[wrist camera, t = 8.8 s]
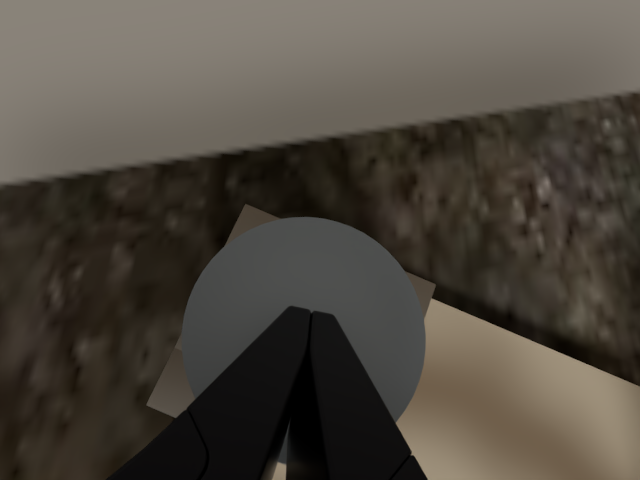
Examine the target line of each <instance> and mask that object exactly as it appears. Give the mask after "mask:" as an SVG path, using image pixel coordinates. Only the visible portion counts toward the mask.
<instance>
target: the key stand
mask: <svg viewBox="0 0 640 480" xmlns="http://www.w3.org/2000/svg"><path fill="white" fill-rule="evenodd" d="M279 219H280V218H278V217H275V216H273V215H271V214H268V213H266V212H263V211H261V210H259V209H256V208H254V207H252V206H249V205H247V204H245V206H244V208H243V210H242V212H241V214H240V216H239V218H238V220H237V222H236V224H235V226H234V228H233V230H232V232H231V234H230V236H229V238H228V240H227V242H226V244H225V246H226V245H227V244H228V243H230V242H231V241H232V240H234V239H235V238H236V237H238V236H240V235H241V234H243V233H245V232H246V231H248V230H250V229H252V228H255V227H257V226H259V225H262V224H265V223H268V222H271V221H275V220H279ZM225 246H224V247H225ZM405 273H406V274H407V276H408V278H409V280H410V281H411V283H412V285H413V287H414V289H415V292H416V294H417V297H418V299H419V302H420V305H421V309H422V313H423V317H424V325H425V333H426V350H425V358H424V365H423V369H422V373H421V377H420V381H419V383H418V386H417V388H416V391H415V393H414V396H413V397H412V399H411V401H410V403H409V405H408V406H407V408H406V410H405V411H404V413H403V414H402V415H401V417H400V418H399V419H398V420H397V422H396V424H397V426H398V428H399V430H400V431H401V433H402V435H403V437H404V438H405V440H406V442H407V444H408V446H409V447H410V449H411V451H412V455H414V456H415V458H416V459H417V461H418V463H419V465H420V466H421V468H422V470H423V472H424V473H425V475H426V477H427V478H428V480H640V386H637V385H635V384H632V383H630V382H628V381H625V380H623V379H621V378H618V377H616V376H614V375H611V374H609V373H607V372H604V371H602V370H599V369H597V368H595V367H592V366H590V365H588V364H585V363H583V362H581V361H578V360H576V359H573V358H571V357H569V356H566V355H564V354H562V353H559V352H557V351H555V350H552V349H550V348H547V347H545V346H543V345H540V344H538V343H536V342H533V341H531V340H529V339H526V338H524V337H522V336H519V335H517V334H514V333H512V332H510V331H507V330H505V329H503V328H500V327H498V326H496V325H493V324H491V323H488V322H486V321H484V320H481V319H479V318H477V317H474V316H472V315H470V314H467V313H465V312H463V311H460V310H458V309H455V308H453V307H451V306H448V305H446V304H444V303H441V302H439V301H437V300H434V299H432V295H433V292H434V289H435V286H436V284H434V283H431V282H429V281H427V280H424V279H422V278H420V277H417V276H415V275H412V274H410V273H408V272H405ZM194 400H195V397H194V394H193V392H192V390H191V387H190V385H189V382H188V379H187V375H186V372H185V368H184V363H183V355H182V334H181V336H180V338H179V340H178V342H177V344H176V346H175V348H174V350H173V352H172V354H171V356H170V358H169V360H168V362H167V364H166V366H165V368H164V370H163V372H162V374H161V376H160V378H159V380H158V382H157V384H156V386H155V388H154V390H153V392H152V394H151V396H150V398H149V401H148V403H147V406H149V407H152V408H154V409H156V410H158V411H161V412H163V413H165V414H168V415H170V416H172V417H175V418H177V417H178V416H179V415H180V414H181V413H182V412H183V411H184V410H186V409H187V407H188V406H189V405H190V404H191V403H192V402H193V401H194ZM272 480H286V464H284V463H279V462H278V463H277V466H276V469H275V473H274V476H273V479H272Z"/></svg>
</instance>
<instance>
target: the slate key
mask: <svg viewBox="0 0 640 480" xmlns="http://www.w3.org/2000/svg"><path fill="white" fill-rule="evenodd" d="M288 306H297V307H301V308H306V309H309V310H310V311H311V313H312V312H313V311H321V312H325V313H330V314H333V315H334V316H335V317H336V319H337V320H338V322H339V324H340V326H341V327H342V329H343V331H344V333H345V334H346V336H347V338H348V340H349V341H350V343H351V345H352V347H353V349H354V350H355V352H356V354H357V356H358V357H359V359H360V361H361V363H362V364H363V366H364V368H365V370H366V371H367V373H368V375H369V377H370V379H371V380H372V382H373V384H374V386H375V387H376V389H377V391H378V393H379V394H380V396H381V398H382V400H383V401H384V403H385V405H386V407H387V409H388V410H389V412H390V414H391V416H392V417H393V419H394V421H395V423H396V422H397V420H398V419H399V418H400V417H401V415H402V414H403V413H404V411H405V410H406V408H407V406H408V405H409V403H410V401H411V399H412V397H413V396H414V393H415V391H416V388H417V386H418V383H419V381H420V377H421V373H422V369H423V365H424V358H425V350H426V333H425V325H424V317H423V313H422V309H421V305H420V302H419V299H418V297H417V294H416V292H415V289H414V287H413V285H412V283H411V281H410V280H409V278H408V276H407V274H406V273H405V271H404V270H403V269H402V267H401V266H400V264H399V263H398V262H397V261H396V260H395V258H394V257H393V256H392V255H391V254H390V253H389V252H388V251H387V250H386V249H385V248H384V247H382V246H381V245H380V244H379V243H378V242H377V241H375V240H374V239H372V238H371V237H369V236H368V235H366V234H365V233H363V232H361V231H359V230H357V229H355V228H353V227H351V226H348V225H345V224H342V223H339V222H337V221H332V220H327V219H323V218H313V217H292V218H286V219H279V220H275V221H271V222H268V223H265V224H262V225H259V226H257V227H255V228H252V229H250V230H248V231H246V232H245V233H243V234H241V235H240V236H238V237H236V238H235V239H234V240H232V241H231V242H230V243H228V244H227V245H226V246H225V247H223V248H222V249H221V250H220V251H219V252H218V253H217V254H216V255H215V256H214V257H213V258H212V260H211V261H210V262H209V264H208V265H207V266H206V267H205V269H204V270H203V271H202V273H201V275H200V277H199V278H198V280H197V282H196V283H195V285H194V288H193V290H192V292H191V295H190V297H189V300H188V303H187V307H186V310H185V314H184V320H183V327H182V355H183V363H184V368H185V372H186V375H187V379H188V382H189V385H190V387H191V390H192V392H193V394H194V397H195V399H196V398H197V397H198V396H199V395H200V394H201V393H202V392H203V391H204V390H205V389H206V388H207V387H208V386H209V385H210V384H211V383H212V382H213V381H214V380H215V379H216V378H217V377H218V376H219V375H220V374H221V373H222V372H223V371H224V370H225V369H226V368H227V367H228V366H229V365H230V364H231V363H232V362H233V361H234V360H235V359H236V358H237V357H238V356H239V355H240V354H241V353H242V352H243V351H244V350H245V349H246V348H247V347H248V346H249V345H250V344H251V343H252V342H253V341H254V340H255V339H256V338H257V337H258V336H259V335H260V334H261V333H262V332H263V331H264V330H265V329H266V328H267V327H268V326H269V325H270V324H271V323H272V322H273V321H274V320H275V319H276V318H277V317H278V316H279V315H280V314H281V313H282V312H283V311H284V310H285V309H286V308H287V307H288ZM289 422H290V421H289ZM288 429H289V425H288ZM288 429H287V433H286V436H285V440H284V444H283V447H282V450H281V453H280V457H279V460H278V462H279V463H284V464H286V460H287V440H288Z"/></svg>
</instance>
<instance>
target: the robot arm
mask: <svg viewBox="0 0 640 480" xmlns="http://www.w3.org/2000/svg"><path fill="white" fill-rule="evenodd" d="M289 421H290V422H289ZM288 425H289V429H288ZM287 429H288V440H287V460H286V480H428V478H427V477H426V475H425V473H424V472H423V470H422V468H421V466H420V465H419V463H418V461H417V459H416V458H415V456H414V455H412V451H411V449H410V447H409V446H408V444H407V442H406V440H405V438H404V437H403V435H402V433H401V431H400V430H399V428H398V426H397V424H396V423H395V421H394V419H393V417H392V416H391V414H390V412H389V410H388V409H387V407H386V405H385V403H384V401H383V400H382V398H381V396H380V394H379V393H378V391H377V389H376V387H375V386H374V384H373V382H372V380H371V379H370V377H369V375H368V373H367V371H366V370H365V368H364V366H363V364H362V363H361V361H360V359H359V357H358V356H357V354H356V352H355V350H354V349H353V347H352V345H351V343H350V341H349V340H348V338H347V336H346V334H345V333H344V331H343V329H342V327H341V326H340V324H339V322H338V320H337V319H336V317H335V316H334V315H333V314H330V313H325V312H321V311H313V312H312V313H311V311H310V310H309V309H306V308H301V307H297V306H288V307H287V308H286V309H285V310H284V311H283V312H282V313H281V314H280V315H279V316H278V317H277V318H276V319H275V320H274V321H273V322H272V323H271V324H270V325H269V326H268V327H267V328H266V329H265V330H264V331H263V332H262V333H261V334H260V335H259V336H258V337H257V338H256V339H255V340H254V341H253V342H252V343H251V344H250V345H249V346H248V347H247V348H246V349H245V350H244V351H243V352H242V353H241V354H240V355H239V356H238V357H237V358H236V359H235V360H234V361H233V362H232V363H231V364H230V365H229V366H228V367H227V368H226V369H225V370H224V371H223V372H222V373H221V374H220V375H219V376H218V377H217V378H216V379H215V380H214V381H213V382H212V383H211V384H210V385H209V386H208V387H207V388H206V389H205V390H204V391H203V392H202V393H201V394H200V395H199V396H198V397H197V398H196V399H195V400H194V401H193V402H192V403H191V404H190V405H189V406H188V407H187V409H186V410H184V411H183V412H182V413H181V414H180V415H179V416H178V417H177V418H176V419H175V420H174V421H173V422H172V423H171V424H170V425H169V426H167V427H166V428H165V429H164V430H163V431H162V432H161V433H160V434H159V435H158V436H157V437H156V438H155V439H153V440H152V441H151V442H150V443H149V444H148V445H147V446H146V447H145V448H144V449H143V450H141V451H140V452H139V453H138V454H136V455H135V456H134V457H133V458H132V459H130V460H129V461H128V462H127V463H125V464H124V465H123V466H122V467H121V468H119V469H118V470H117V471H116V472H115V473H113V474H112V475H111V476H109V477H108V478H107V479H106V480H272V479H273V476H274V473H275V469H276V466H277V463H278V460H279V457H280V453H281V450H282V447H283V444H284V440H285V436H286V433H287Z"/></svg>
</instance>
